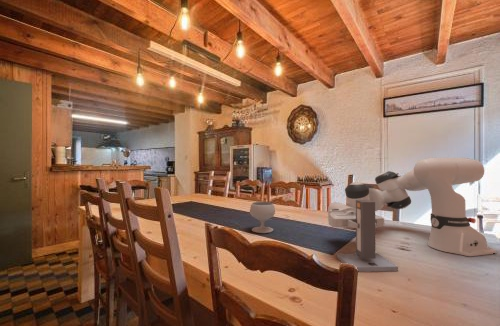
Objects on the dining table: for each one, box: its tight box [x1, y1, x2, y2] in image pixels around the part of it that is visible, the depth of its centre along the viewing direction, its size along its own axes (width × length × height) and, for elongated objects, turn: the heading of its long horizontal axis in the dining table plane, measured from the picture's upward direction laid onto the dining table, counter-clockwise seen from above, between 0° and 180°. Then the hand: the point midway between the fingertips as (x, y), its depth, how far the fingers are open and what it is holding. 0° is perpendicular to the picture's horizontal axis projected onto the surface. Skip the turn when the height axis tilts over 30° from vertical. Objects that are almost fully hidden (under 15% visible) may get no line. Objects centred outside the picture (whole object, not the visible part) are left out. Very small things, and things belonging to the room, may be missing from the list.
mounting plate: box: [336, 252, 399, 273], centre depth 83 cm, size 16×12×2 cm
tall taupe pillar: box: [355, 200, 376, 259], centre depth 83 cm, size 5×5×20 cm
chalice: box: [249, 201, 276, 234], centre depth 126 cm, size 14×14×15 cm
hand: (366, 226), depth 82 cm, fingers closed on tall taupe pillar, 5 cm apart
